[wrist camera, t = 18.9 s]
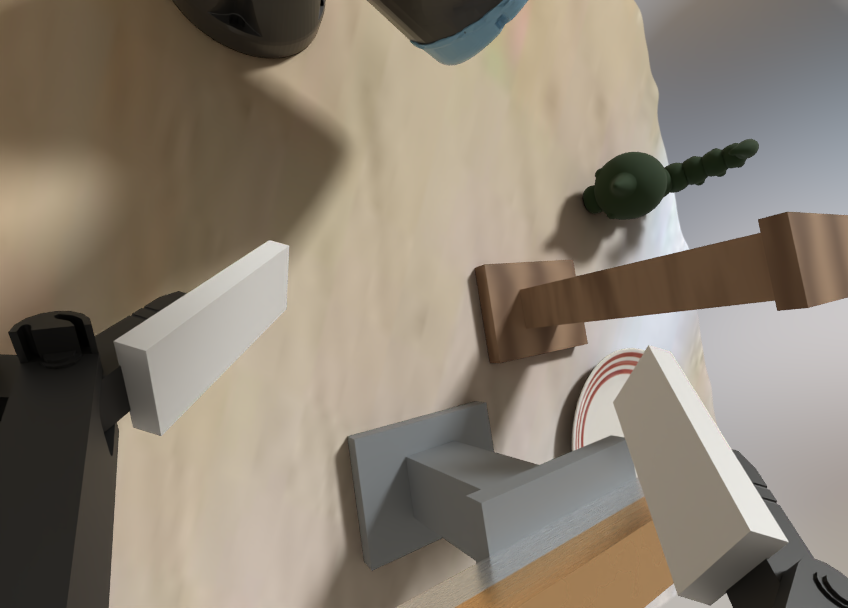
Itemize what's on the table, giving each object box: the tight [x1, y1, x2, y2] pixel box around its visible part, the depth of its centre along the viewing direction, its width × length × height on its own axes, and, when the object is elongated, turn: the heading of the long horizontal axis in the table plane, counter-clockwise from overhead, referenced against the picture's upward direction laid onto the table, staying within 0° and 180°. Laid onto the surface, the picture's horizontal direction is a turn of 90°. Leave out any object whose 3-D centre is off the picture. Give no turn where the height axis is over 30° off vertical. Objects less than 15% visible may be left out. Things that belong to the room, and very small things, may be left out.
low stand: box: [347, 401, 636, 570], centre depth 34 cm, size 16×12×20 cm
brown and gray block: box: [395, 477, 674, 608], centre depth 22 cm, size 22×4×4 cm, turn 100°
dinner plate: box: [572, 348, 645, 478], centre depth 58 cm, size 28×27×3 cm
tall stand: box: [475, 212, 848, 363], centre depth 41 cm, size 16×12×30 cm
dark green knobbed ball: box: [583, 139, 759, 219], centre depth 59 cm, size 9×19×25 cm
